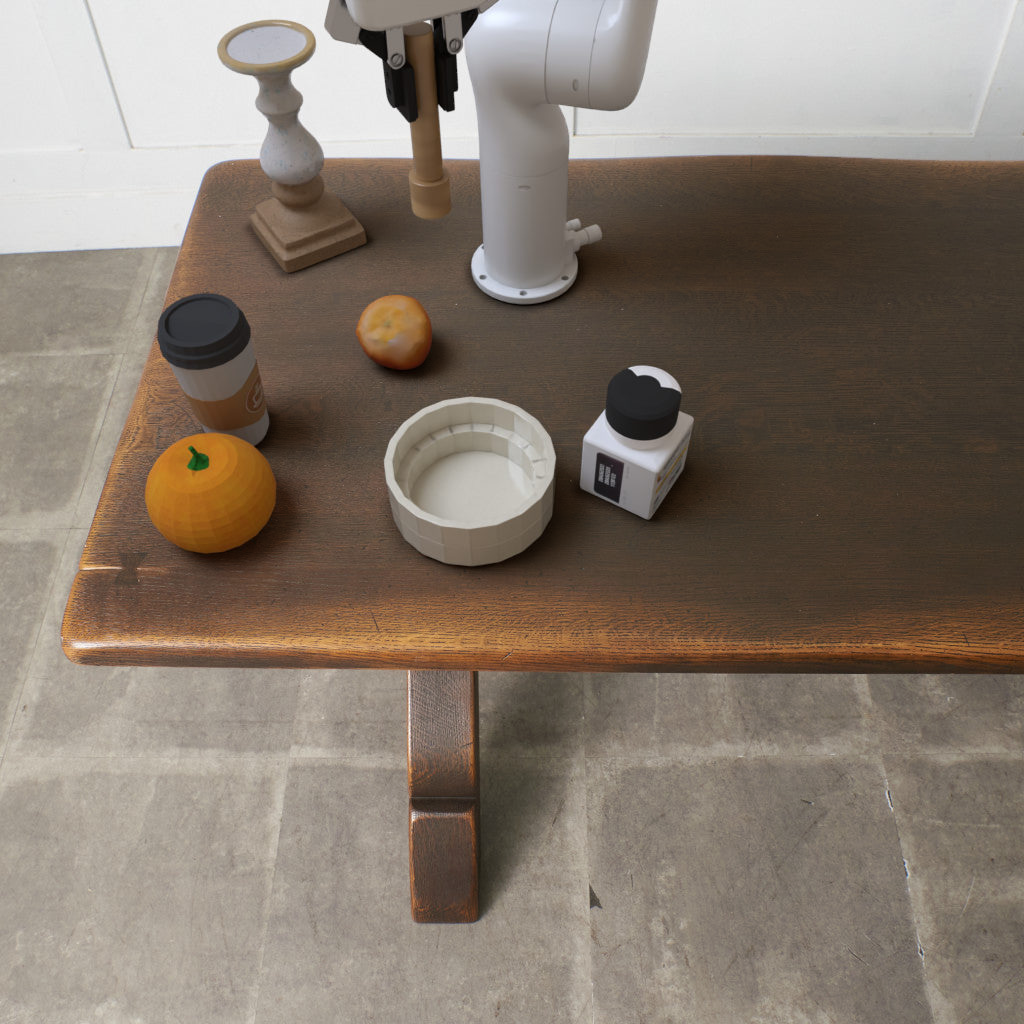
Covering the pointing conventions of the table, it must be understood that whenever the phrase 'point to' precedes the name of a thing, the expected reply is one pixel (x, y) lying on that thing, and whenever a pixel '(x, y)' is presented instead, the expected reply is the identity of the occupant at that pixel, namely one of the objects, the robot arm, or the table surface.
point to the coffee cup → (215, 364)
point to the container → (637, 441)
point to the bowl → (471, 480)
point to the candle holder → (289, 149)
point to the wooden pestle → (426, 129)
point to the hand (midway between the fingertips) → (423, 106)
